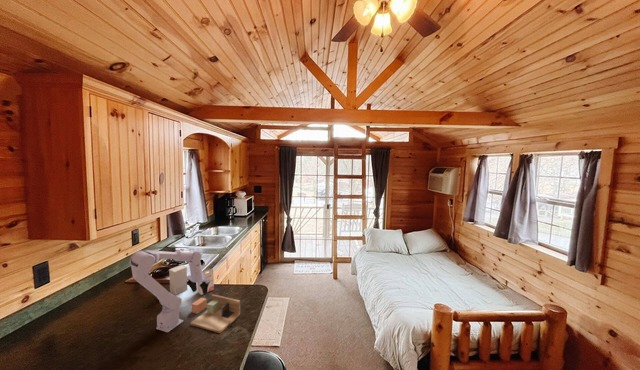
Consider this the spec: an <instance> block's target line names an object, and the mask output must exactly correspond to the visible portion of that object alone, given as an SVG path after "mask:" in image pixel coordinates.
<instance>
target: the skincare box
mask: <svg viewBox="0 0 640 370" xmlns="http://www.w3.org/2000/svg"><path fill="white" fill-rule="evenodd" d="M187 270H188V267H187V266H184V264H183V265H182V264H181V265H178V266H175V267H173V268H170V269H168V272H169V275H168V276H169V290H170V291H169V292H170V293H172V294H173V295H175V296H177V295H179V294H182V293H183V292H185V291H187V290H189V289H188V284H187V282H188V280H187V279H186V277H187V276H188V271H187Z"/></svg>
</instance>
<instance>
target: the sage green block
mask: <svg viewBox="0 0 640 370" xmlns="http://www.w3.org/2000/svg"><path fill="white" fill-rule="evenodd" d="M219 309H220V300H215V299H214V300H211V301H209V302H207V307H206V311H207V313H210V314H214V313H216V312H217V311H218V310H219Z"/></svg>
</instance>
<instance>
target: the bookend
mask: <svg viewBox="0 0 640 370" xmlns="http://www.w3.org/2000/svg"><path fill="white" fill-rule="evenodd" d="M233 313H234V312H232V311H229V303H226V304H225V305H224V306H223V307H221V317H225V318H229V317H230V316H231V315H232V314H233Z"/></svg>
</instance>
